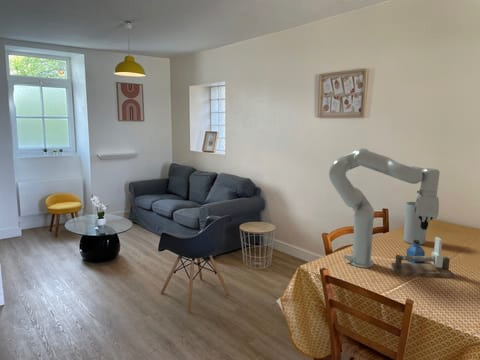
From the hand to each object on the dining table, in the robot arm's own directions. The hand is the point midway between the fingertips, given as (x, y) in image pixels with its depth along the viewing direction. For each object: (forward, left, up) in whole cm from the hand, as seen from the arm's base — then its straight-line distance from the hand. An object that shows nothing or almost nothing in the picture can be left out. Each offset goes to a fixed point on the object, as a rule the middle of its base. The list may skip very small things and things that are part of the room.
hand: (423, 229), depth 179 cm
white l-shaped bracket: (+8, 0, -19) cm, 20 cm away
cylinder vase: (+14, +49, -23) cm, 56 cm away
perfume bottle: (+2, +14, -23) cm, 27 cm away
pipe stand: (0, 0, -23) cm, 23 cm away
